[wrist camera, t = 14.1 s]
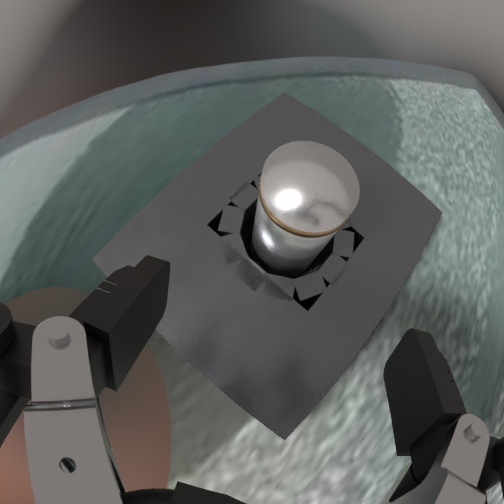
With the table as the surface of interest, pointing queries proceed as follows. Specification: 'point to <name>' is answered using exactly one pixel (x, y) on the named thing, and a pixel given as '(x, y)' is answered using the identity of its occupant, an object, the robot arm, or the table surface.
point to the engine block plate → (267, 285)
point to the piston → (301, 205)
